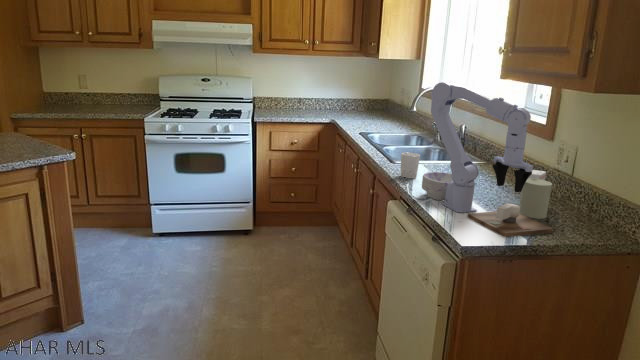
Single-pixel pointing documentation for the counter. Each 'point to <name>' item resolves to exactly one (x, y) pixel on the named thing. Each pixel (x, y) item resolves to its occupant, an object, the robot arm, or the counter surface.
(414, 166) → the white cup
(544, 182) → the can
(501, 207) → the white block
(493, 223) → the post board
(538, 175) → the ink box
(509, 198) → the counter surface
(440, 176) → the paper bowls
